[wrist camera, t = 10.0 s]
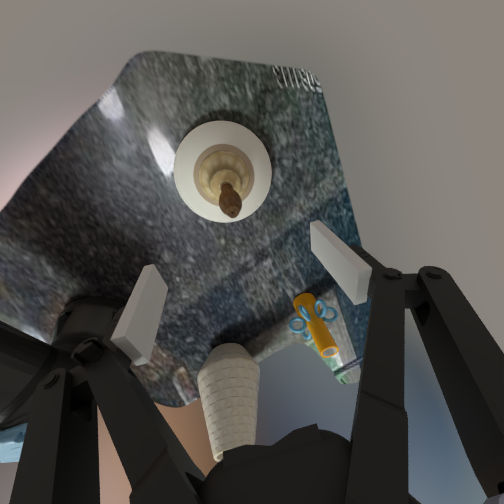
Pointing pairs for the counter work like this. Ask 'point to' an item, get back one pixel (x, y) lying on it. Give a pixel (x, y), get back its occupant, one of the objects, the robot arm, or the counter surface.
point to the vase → (229, 397)
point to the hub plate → (217, 139)
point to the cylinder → (315, 323)
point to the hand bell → (225, 180)
